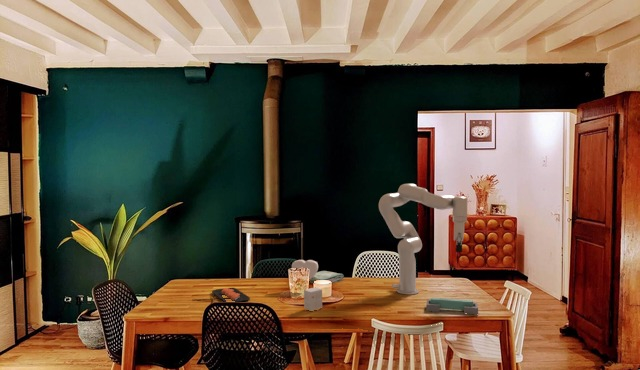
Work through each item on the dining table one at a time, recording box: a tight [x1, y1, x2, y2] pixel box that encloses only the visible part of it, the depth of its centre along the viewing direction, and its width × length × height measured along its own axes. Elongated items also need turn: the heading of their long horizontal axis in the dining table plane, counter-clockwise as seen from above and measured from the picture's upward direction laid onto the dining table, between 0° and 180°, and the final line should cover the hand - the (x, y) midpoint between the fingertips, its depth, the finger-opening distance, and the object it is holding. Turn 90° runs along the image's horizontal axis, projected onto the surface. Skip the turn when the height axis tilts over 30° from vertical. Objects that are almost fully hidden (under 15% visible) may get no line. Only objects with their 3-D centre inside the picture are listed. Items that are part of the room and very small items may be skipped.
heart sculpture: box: [291, 259, 319, 279], centre depth 275 cm, size 16×5×18 cm, turn 81°
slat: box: [429, 297, 474, 311], centre depth 234 cm, size 21×3×4 cm, turn 75°
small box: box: [303, 287, 323, 311], centre depth 237 cm, size 8×6×10 cm
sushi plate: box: [193, 287, 251, 304], centre depth 258 cm, size 29×30×4 cm
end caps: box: [425, 299, 479, 315], centre depth 234 cm, size 25×9×4 cm, turn 75°
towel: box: [309, 270, 345, 284], centre depth 298 cm, size 18×21×5 cm
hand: (459, 250), depth 249 cm, fingers open, 9 cm apart
